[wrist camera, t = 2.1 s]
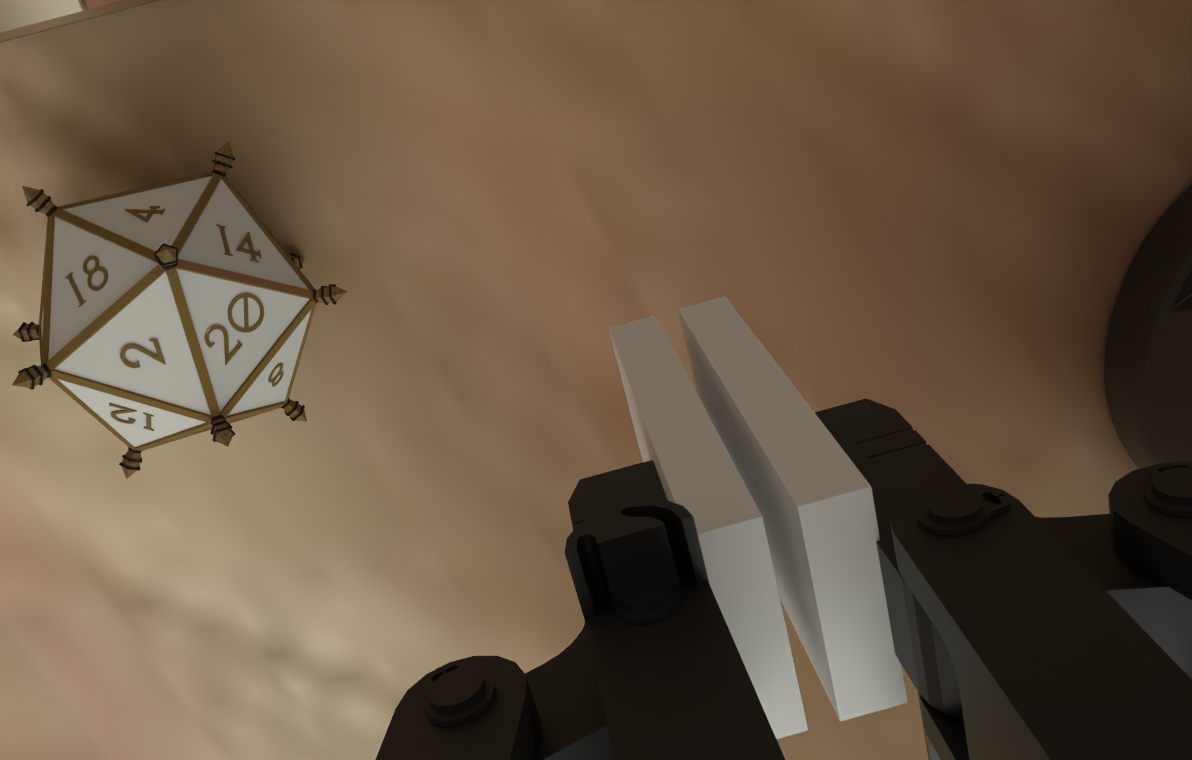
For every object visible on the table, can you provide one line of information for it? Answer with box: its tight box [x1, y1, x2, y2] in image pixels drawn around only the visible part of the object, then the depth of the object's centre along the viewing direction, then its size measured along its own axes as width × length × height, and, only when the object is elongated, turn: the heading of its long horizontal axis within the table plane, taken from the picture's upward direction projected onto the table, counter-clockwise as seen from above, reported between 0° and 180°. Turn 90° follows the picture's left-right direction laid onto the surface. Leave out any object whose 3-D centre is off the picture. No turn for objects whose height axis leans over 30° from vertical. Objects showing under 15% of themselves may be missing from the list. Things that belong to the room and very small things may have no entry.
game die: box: [12, 142, 347, 479], centre depth 30 cm, size 9×8×10 cm
